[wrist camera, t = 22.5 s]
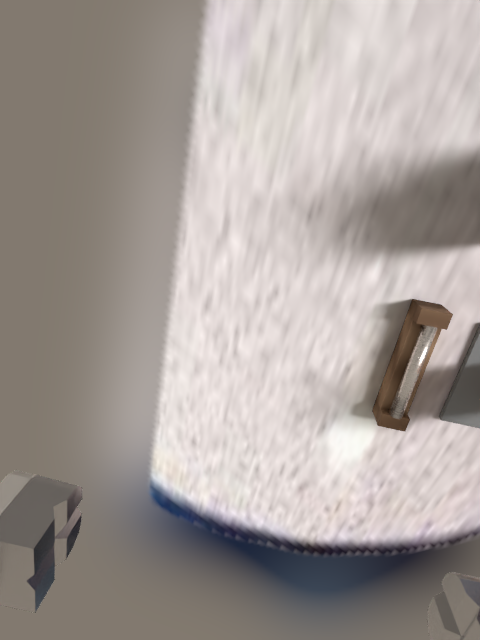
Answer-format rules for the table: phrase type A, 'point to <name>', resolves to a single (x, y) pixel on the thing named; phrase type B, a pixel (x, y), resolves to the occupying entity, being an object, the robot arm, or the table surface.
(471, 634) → the robot arm
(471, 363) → the mat
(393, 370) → the bar
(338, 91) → the table surface
